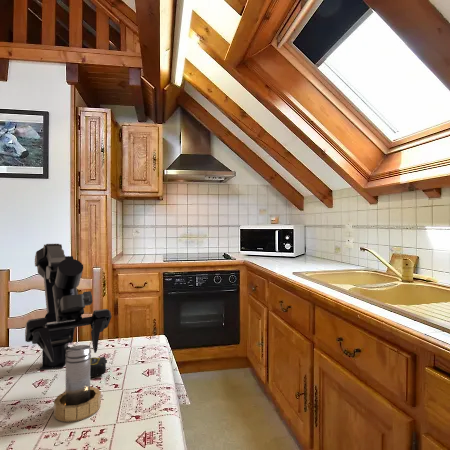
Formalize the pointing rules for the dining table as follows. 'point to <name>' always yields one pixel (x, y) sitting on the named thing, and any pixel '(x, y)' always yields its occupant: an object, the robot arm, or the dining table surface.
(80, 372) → the grey metal cylinder
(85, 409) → the ring collar
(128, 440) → the dining table surface
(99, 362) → the tape measure
